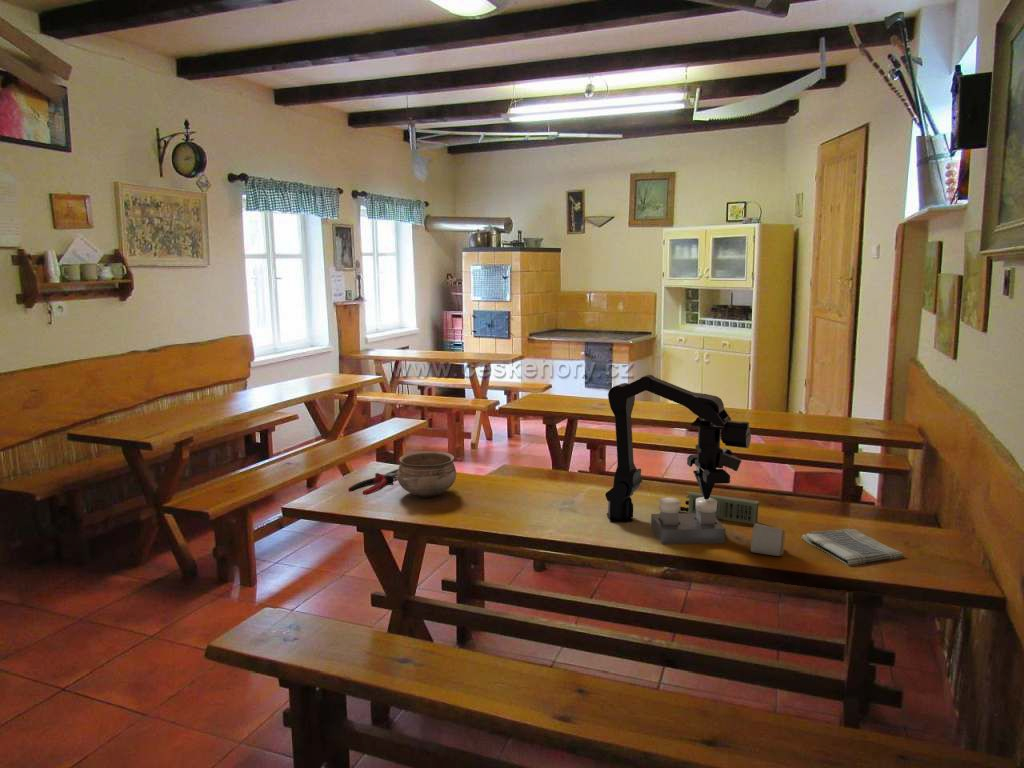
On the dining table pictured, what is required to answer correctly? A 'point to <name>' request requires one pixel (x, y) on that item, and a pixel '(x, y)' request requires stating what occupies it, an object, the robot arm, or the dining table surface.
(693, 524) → the mount
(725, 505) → the handheld radio
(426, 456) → the cooking pot
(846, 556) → the dish towel
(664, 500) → the knob
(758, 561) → the dining table surface
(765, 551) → the block
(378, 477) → the pliers
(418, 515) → the dining table surface
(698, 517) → the knob
